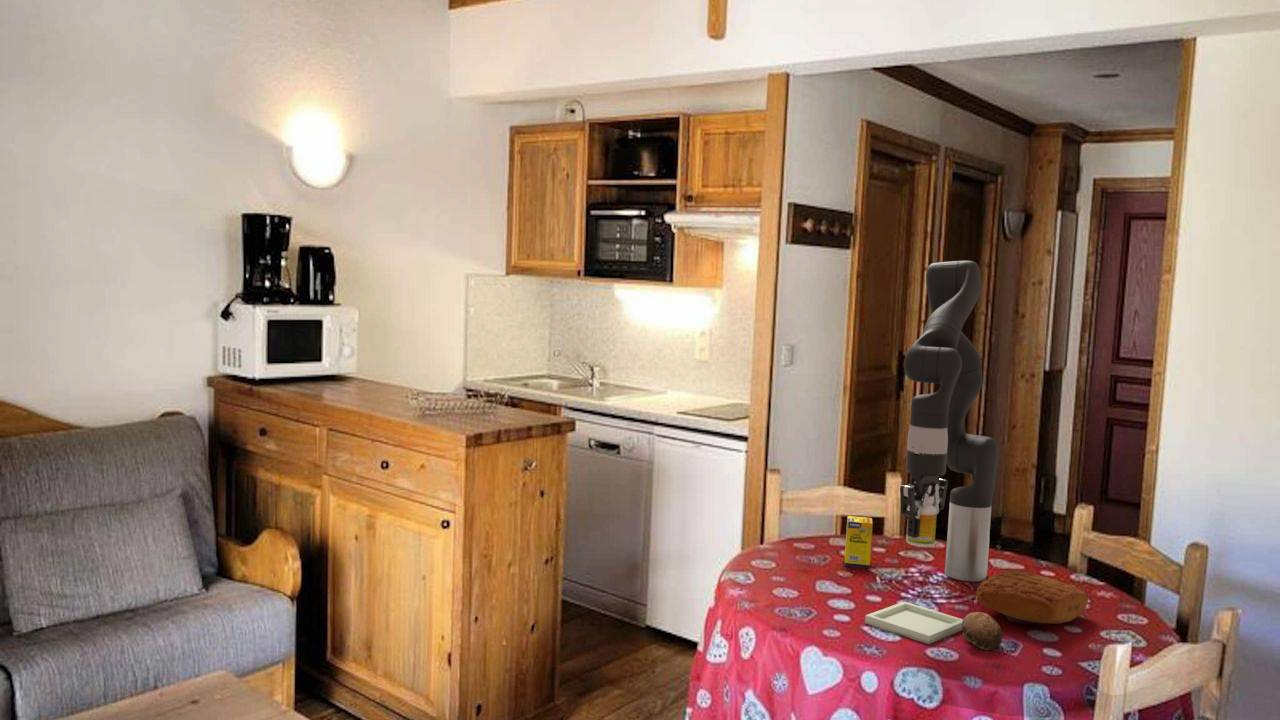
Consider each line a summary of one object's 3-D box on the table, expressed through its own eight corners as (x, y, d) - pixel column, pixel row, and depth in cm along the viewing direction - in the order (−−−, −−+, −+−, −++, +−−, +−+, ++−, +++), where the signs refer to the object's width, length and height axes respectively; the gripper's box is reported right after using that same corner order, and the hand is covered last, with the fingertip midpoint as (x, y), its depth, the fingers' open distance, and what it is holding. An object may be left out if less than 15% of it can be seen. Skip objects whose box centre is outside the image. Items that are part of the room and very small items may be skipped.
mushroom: (949, 618, 189) (968, 598, 186) (985, 634, 190) (1004, 614, 187) (954, 650, 183) (974, 631, 179) (991, 667, 184) (1012, 647, 180)
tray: (903, 609, 204) (904, 601, 204) (966, 628, 194) (966, 620, 193) (865, 623, 194) (865, 615, 194) (928, 644, 184) (929, 636, 184)
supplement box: (870, 568, 232) (873, 523, 231) (844, 566, 233) (847, 521, 232) (869, 562, 238) (872, 517, 237) (844, 559, 239) (847, 515, 238)
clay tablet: (1049, 642, 188) (1053, 601, 187) (965, 618, 200) (968, 579, 199) (1093, 618, 203) (1097, 580, 203) (1013, 597, 215) (1016, 561, 215)
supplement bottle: (937, 548, 190) (941, 498, 189) (910, 547, 190) (913, 497, 189) (930, 540, 195) (933, 492, 195) (903, 539, 195) (906, 491, 195)
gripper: (929, 443, 199) (923, 525, 200) (889, 449, 189) (884, 535, 190) (963, 448, 193) (957, 533, 195) (924, 455, 183) (918, 544, 185)
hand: (921, 534), depth 192 cm, fingers closed on supplement bottle, 5 cm apart
